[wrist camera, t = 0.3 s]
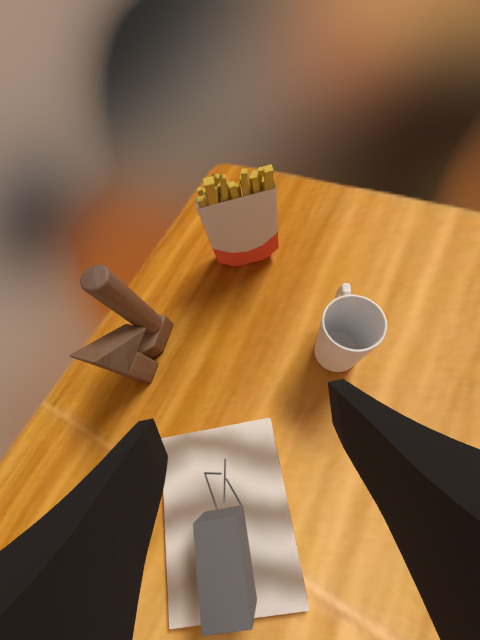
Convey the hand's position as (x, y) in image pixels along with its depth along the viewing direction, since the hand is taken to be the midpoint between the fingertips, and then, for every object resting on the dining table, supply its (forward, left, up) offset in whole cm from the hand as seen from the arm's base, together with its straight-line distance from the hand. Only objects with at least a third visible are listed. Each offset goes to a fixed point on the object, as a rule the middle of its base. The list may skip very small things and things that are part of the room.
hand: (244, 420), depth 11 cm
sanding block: (-12, +8, -28) cm, 32 cm away
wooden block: (+16, +17, -29) cm, 37 cm away
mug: (+11, -12, -29) cm, 33 cm away
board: (-8, +8, -29) cm, 31 cm away
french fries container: (+31, -2, -29) cm, 42 cm away
